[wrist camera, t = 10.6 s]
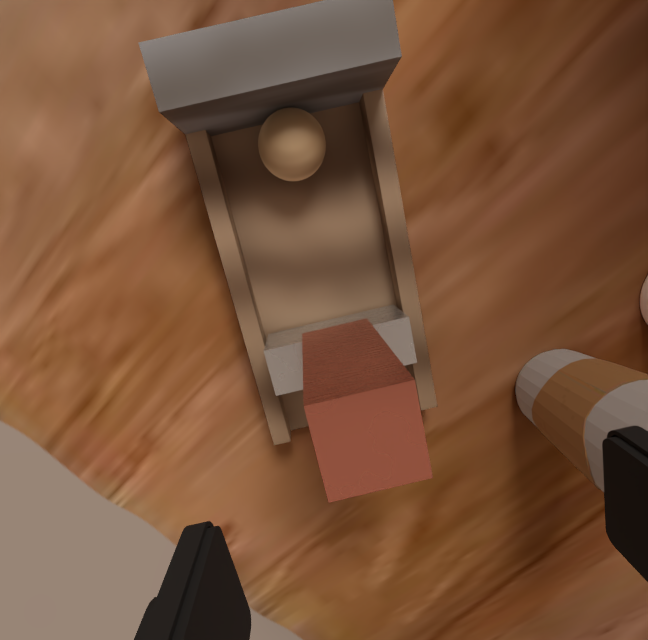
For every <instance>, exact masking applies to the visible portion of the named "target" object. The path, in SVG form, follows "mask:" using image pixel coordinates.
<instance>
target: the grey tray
mask: <svg viewBox="0 0 648 640" xmlns="http://www.w3.org/2000/svg"><path fill="white" fill-rule="evenodd" d="M139 46H140V49H141V53H142V56H143V59H144V63H145V66H146V69H147V73H148V76H149V80H150V83H151V86H152V90H153V93H154V96H155V100H156V103H157V107H158V110H159V112H160V113H161V114H162V115H163V116H164V117H166V118H167V119H168V120H169V121H170V122H171V123H173V124H174V125H175V126H176V127H177V128H178V129H180V130H181V131H182V132H183V133H184V134H185V135H186V139H187V142H188V146H189V149H190V153H191V156H192V159H193V163H194V166H195V170H196V173H197V177H198V180H199V184H200V187H201V191H202V194H203V198H204V201H205V205H206V208H207V212H208V215H209V219H210V222H211V226H212V229H213V233H214V236H215V240H216V243H217V247H218V250H219V254H220V257H221V261H222V264H223V268H224V271H225V275H226V278H227V282H228V285H229V289H230V292H231V296H232V299H233V303H234V306H235V310H236V313H237V317H238V320H239V324H240V327H241V331H242V334H243V338H244V341H245V345H246V348H247V352H248V355H249V359H250V362H251V366H252V369H253V373H254V376H255V380H256V383H257V387H258V390H259V394H260V397H261V401H262V404H263V408H264V411H265V415H266V418H267V422H268V425H269V429H270V432H271V436H272V439H273V443H274V445H278V444H282V443H286V442H290V441H291V430H295V429H299V428H303V427H307V426H309V425H308V421H307V418H306V414H305V410H304V402H303V390H299V391H295V392H291V393H286V394H282V395H278V396H276V395H275V391H274V387H273V384H272V380H271V376H270V373H269V369H268V366H267V362H266V358H265V355H264V348H265V344H266V341H267V338H268V334H271V333H275V332H279V331H283V330H288V329H292V328H296V327H300V326H305V325H309V324H313V323H317V322H322V321H326V320H330V319H334V318H339V317H343V316H347V315H351V314H356V313H360V312H364V311H368V310H373V309H377V308H381V307H385V306H390V305H395V306H396V307H397V308H398V309H400V310H401V311H402V312H404V313H405V314H406V315H407V316H409V320H410V326H411V331H412V337H413V342H414V348H415V353H416V359H417V363H413V364H409V365H405V366H404V367H405V368H406V369H407V370H408V372H409V373H410V374H411V376H412V377H413V378H414V379H415V383H416V388H417V394H418V399H419V405H420V409H421V410H425V409H429V408H433V407H437V401H436V395H435V389H434V383H433V378H432V372H431V366H430V360H429V354H428V349H427V343H426V337H425V331H424V325H423V320H422V314H421V308H420V302H419V296H418V291H417V285H416V279H415V273H414V267H413V261H412V256H411V250H410V244H409V238H408V232H407V227H406V221H405V215H404V209H403V203H402V198H401V192H400V186H399V180H398V174H397V169H396V163H395V157H394V151H393V145H392V140H391V134H390V128H389V122H388V116H387V110H386V105H385V99H384V93H383V88H384V86H385V84H386V82H387V81H388V79H389V77H390V76H391V74H392V72H393V70H394V69H395V67H396V65H397V64H398V62H399V60H400V58H401V57H402V55H401V49H400V43H399V37H398V30H397V24H396V18H395V11H394V5H393V0H324V1H320V2H315V3H311V4H306V5H302V6H298V7H293V8H289V9H284V10H280V11H276V12H271V13H267V14H263V15H258V16H254V17H249V18H245V19H241V20H236V21H232V22H227V23H223V24H219V25H214V26H210V27H205V28H201V29H197V30H192V31H188V32H184V33H179V34H175V35H170V36H166V37H162V38H157V39H153V40H148V41H144V42H140V43H139ZM288 107H293V108H299V109H302V110H305V111H307V112H308V113H310V114H311V115H312V116H313V117H315V119H316V120H317V121H318V122H319V124H320V125H321V127H322V129H323V132H324V135H325V140H326V151H325V156H324V159H323V162H322V164H321V165H320V167H319V168H318V170H317V171H316V172H315V173H314V174H313V175H311V176H310V177H308V178H306V179H304V180H300V181H286V180H282V179H280V178H278V177H276V176H275V175H273V174H272V173H271V172H270V171H269V170H268V169H267V168H266V166H265V165H264V163H263V161H262V159H261V157H260V154H259V148H258V138H259V133H260V130H261V127H262V125H263V123H264V122H265V120H266V119H267V118H268V117H269V116H270V115H271V114H272V113H274V112H276V111H277V110H280V109H283V108H288Z"/></svg>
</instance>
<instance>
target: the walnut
mask: <svg viewBox="0 0 648 640" xmlns="http://www.w3.org/2000/svg"><path fill="white" fill-rule="evenodd" d="M258 148H259V154H260V157H261V159H262V161H263V163H264V165H265V166H266V168H267V169H268V170H269V171H270V172H271V173H272V174H273V175H275V176H276V177H278V178H280V179H282V180H286V181H300V180H304V179H306V178H308V177H310V176H311V175H313V174H314V173H315V172H316V171H317V170H318V168H319V167H320V165H321V164H322V162H323V159H324V156H325V151H326V140H325V135H324V132H323V129H322V127H321V125H320V124H319V122H318V121H317V120H316V119H315V117H313V116H312V115H311V114H310V113H308V112H307V111H305V110H302V109H299V108H293V107H288V108H283V109H280V110H277V111H276V112H274V113H272V114H271V115H270V116H269V117H268V118H267V119H266V120H265V122H264V123H263V125H262V127H261V130H260V133H259V138H258Z"/></svg>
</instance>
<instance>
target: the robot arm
mask: <svg viewBox="0 0 648 640" xmlns="http://www.w3.org/2000/svg"><path fill="white" fill-rule="evenodd" d="M602 451H603V475H604V498H605V521H606V532H607V535H608V537H609V539H610V541H611V543H612V544H613V545H614V547H615V548H616V549H617V550H618V551H619V552H620V553H621V554H622V555H623V556H624V557H625V558H626V559H627V561H628V562H629V563H630V564H631V565H632V566H633V567H634V568H635V569H636V570H637V571H638V572H639V573H640V574H641V575H642V576H643V577H644V579H645V580H646V581H647V582H648V431H647V430H645V429H643V428H642V427H639V426H634V425H633V426H629V427H625V428H620V429H616V430H612V431H609V432H608V434H607V438H606V439H604V440H603V442H602ZM250 631H251V614H250V609H249V606H248V603H247V600H246V597H245V595H244V592H243V589H242V586H241V583H240V581H239V578H238V575H237V572H236V569H235V566H234V564H233V561H232V558H231V555H230V552H229V550H228V547H227V544H226V541H225V538H224V536H223V533H222V530H221V528H220V527H219V526H215V527H214V526H213V524H212V523H211V522H210V521H207V522H203V523H198V524H194V525H189V526H186V527H185V528H184V530H183V532H182V534H181V537H180V539H179V542H178V544H177V547H176V550H175V552H174V555H173V557H172V560H171V562H170V565H169V567H168V570H167V573H166V575H165V578H164V580H163V583H162V585H161V588H160V591H159V593H158V596H157V597H155V598H154V599H153V600H152V601H151V602H150V603H149V605H148V607H147V609H146V611H145V614H144V616H143V619H142V621H141V624H140V626H139V628H138V631H137V633H136V636H135V638H134V640H249V638H250Z"/></svg>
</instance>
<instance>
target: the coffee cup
mask: <svg viewBox="0 0 648 640" xmlns="http://www.w3.org/2000/svg"><path fill="white" fill-rule="evenodd" d="M515 392H516V397H517V402H518V405H519V407H520V409H521V411H522V413H523V414H524V415H525V416H526V417H527V418H528V419H529V420H530V421H531V422H532V423H533V424H534V425H535V426H536V427H537V428H538V430H539V431H540V432H541V433H542V434H543V435H544V436H545V437H546V438H547V439H548V440H549V441H550V442H551V443H552V444H553V445H554V446H555V447H556V448H557V449H558V450H559V451H560V452H561V453H562V454H563V455H564V456H565V457H566V458H568V459H569V460H570V461H571V462H572V463H573V464H574V465H575V466H576V467H577V468H578V469H579V470H580V471H581V472H582V473H583V474H584V475H585V476H586V477H587V478H588V479H589V480H590V481H591V482H592V483H593V484H594V485H595V486H596V487H597V488H598V489H600V490H602V491H603V492H604V475H603V451H602V442H603V440H604V439H606V438H607V434H608V432H609V431H612V430H616V429H620V428H625V427H629V426H633V425H634V426H639V427H642V428H643V429H645V430H647V431H648V374H646V373H643V372H640V371H637V370H634V369H631V368H628V367H625V366H622V365H619V364H616V363H613V362H610V361H606V360H602V359H597V358H594V357H591V356H588V355H585V354H582V353H579V352H576V351H572V350H568V349H555V350H551V351H547V352H543V353H540V354H539V355H537V356H535V357H533V358H532V359H531V360H530V361H529V362H527V363H526V364H525V365H524V367H523V368H522V370H521V371H520V373H519V375H518V378H517V381H516V388H515Z"/></svg>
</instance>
